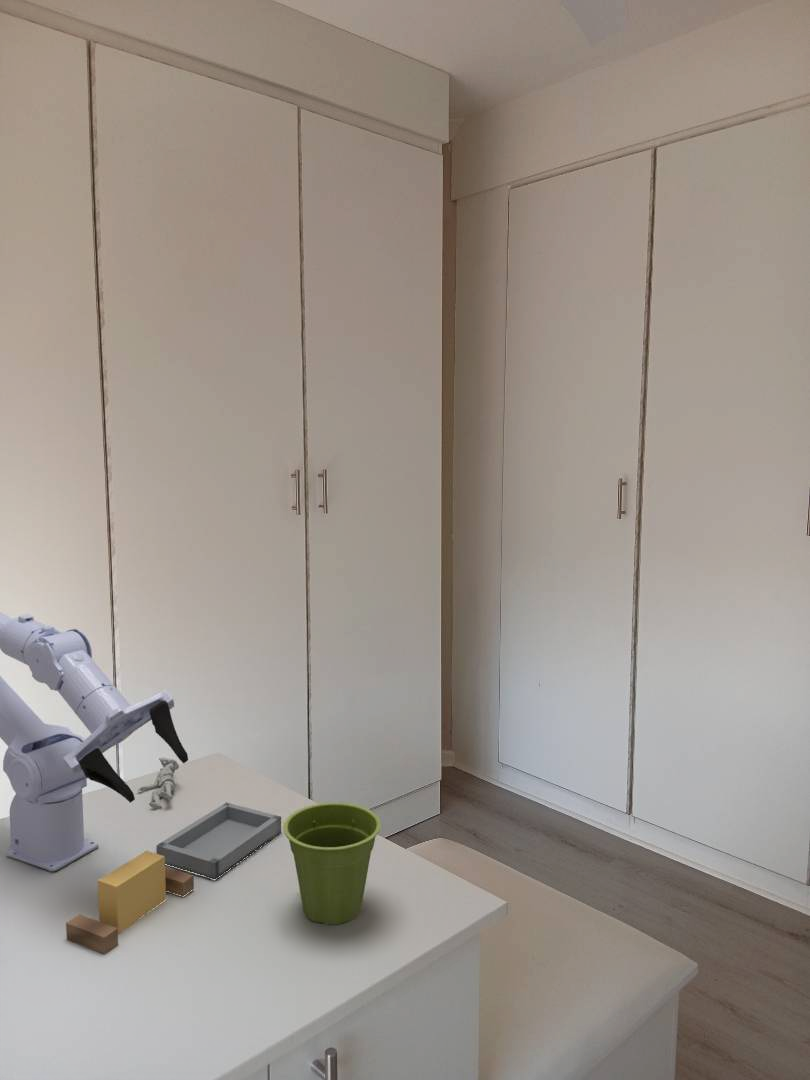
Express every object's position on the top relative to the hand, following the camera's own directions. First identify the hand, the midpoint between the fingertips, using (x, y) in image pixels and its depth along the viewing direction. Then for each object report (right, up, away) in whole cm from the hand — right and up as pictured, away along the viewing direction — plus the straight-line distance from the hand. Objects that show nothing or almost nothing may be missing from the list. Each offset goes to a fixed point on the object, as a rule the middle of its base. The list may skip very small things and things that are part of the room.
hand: (159, 777), depth 104 cm
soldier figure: (-9, -12, +33) cm, 37 cm away
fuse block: (-3, -17, 0) cm, 17 cm away
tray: (+4, -14, +16) cm, 22 cm away
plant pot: (+21, -17, +1) cm, 27 cm away
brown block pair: (-3, -16, 0) cm, 17 cm away
